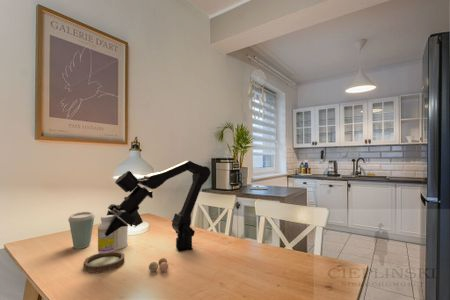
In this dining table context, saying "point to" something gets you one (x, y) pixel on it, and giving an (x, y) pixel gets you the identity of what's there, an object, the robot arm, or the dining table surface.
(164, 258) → the bead honey
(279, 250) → the dining table surface
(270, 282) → the dining table surface
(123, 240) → the mug
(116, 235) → the supplement bottle
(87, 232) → the disposable coffee cup
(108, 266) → the faceted wooden bowl
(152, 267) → the bead maple
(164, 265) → the pinkish tan ball
